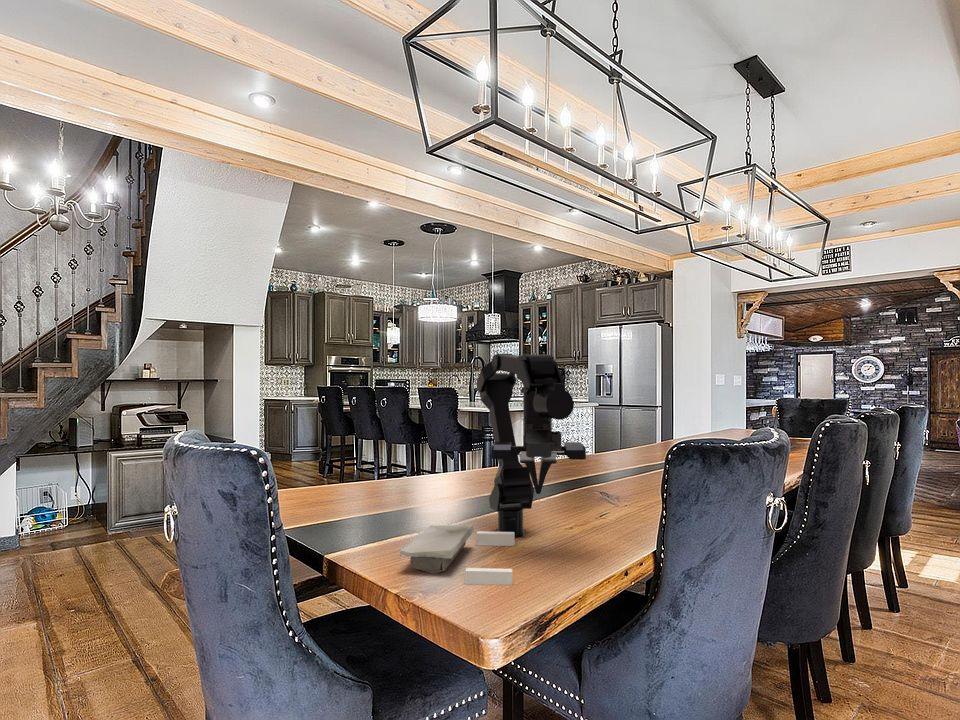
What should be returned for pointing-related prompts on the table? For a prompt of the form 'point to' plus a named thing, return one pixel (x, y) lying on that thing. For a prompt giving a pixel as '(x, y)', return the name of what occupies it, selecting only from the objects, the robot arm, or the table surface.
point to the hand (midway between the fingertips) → (538, 493)
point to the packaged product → (437, 547)
